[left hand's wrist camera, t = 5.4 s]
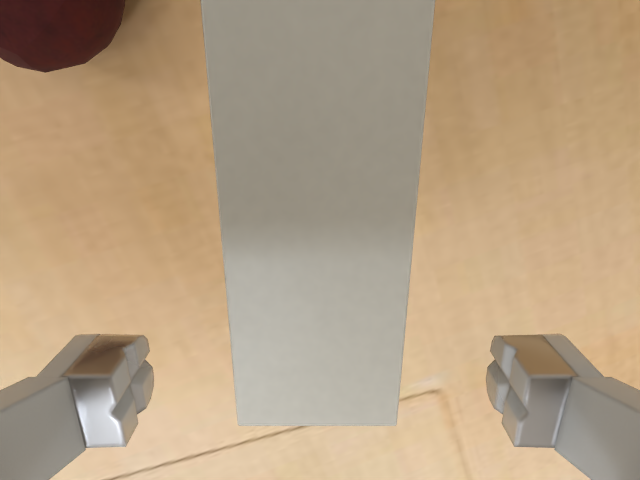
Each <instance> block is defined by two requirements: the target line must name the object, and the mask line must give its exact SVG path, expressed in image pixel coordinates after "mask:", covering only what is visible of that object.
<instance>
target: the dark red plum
mask: <svg viewBox="0 0 640 480" xmlns="http://www.w3.org/2000/svg"><path fill="white" fill-rule="evenodd" d="M124 6H125V0H0V58H2V59H3V60H5V61H7V62H9V63H11V64H13V65H15V66H17V67H22V68H26V69H31V70H36V71H41V72H50V71H54V70H59V69H63V68H67V67H72V66H76V65H80V64H85V63H86V62H88V61H89V60H90V59H92V58H93V57H94V56H96V55H97V54H98V53H99V52H101V51H102V50H103V49H105V48H106V47H107V46H108V45H109V44H110V43H111V41H112V39H113V37H114V35H115V34H116V32H117V30H118V28H119V26H120V24H121V20H122V15H123V11H124Z"/></svg>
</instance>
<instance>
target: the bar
mask: <svg viewBox="0 0 640 480" xmlns="http://www.w3.org/2000/svg"><path fill="white" fill-rule="evenodd" d="M434 8H435V0H201V11H202V22H203V33H204V45H205V56H206V68H207V79H208V90H209V102H210V113H211V125H212V136H213V148H214V159H215V170H216V182H217V193H218V205H219V216H220V227H221V239H222V250H223V262H224V273H225V284H226V296H227V307H228V319H229V330H230V341H231V353H232V364H233V376H234V387H235V399H236V410H237V421H238V425H239V426H396V424H397V416H398V405H399V394H400V383H401V372H402V361H403V350H404V338H405V327H406V316H407V305H408V294H409V283H410V272H411V261H412V250H413V239H414V228H415V217H416V206H417V195H418V184H419V173H420V162H421V151H422V140H423V129H424V118H425V107H426V96H427V85H428V74H429V63H430V52H431V41H432V30H433V19H434Z"/></svg>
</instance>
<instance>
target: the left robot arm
mask: <svg viewBox="0 0 640 480" xmlns="http://www.w3.org/2000/svg"><path fill="white" fill-rule="evenodd" d="M149 352H150V349H149V344H148V340H147V338H146V337H145V336H144V335H114V334H102V335H100V334H80V335H76V336H75V337H74V338H73V339H72V340H71V341H70V342H69V343H68V344H67V345H66V346H65V347H64V348H63V349H62V350H61V351H60V352H59V353H58V354H57V355H56V356H55V357H54V358H53V360H52V361H51V362H50V363H49V364H48V365H47V366H46V367H45V368H44V369H43V370H42V371H41V372H40V373H39V374H38V375H37V376H36V377H28V378H26V379H23V380H21V381H19V382H17V383H15V384H13V385H11V386H9V387H6V388H4V389H2V390H0V480H49V479H50V478H52V477H53V476H54V475H55V474H56V473H58V472H59V471H60V470H61V469H63V468H64V467H65V466H66V465H68V464H69V463H70V462H71V461H73V460H74V459H75V458H76V457H77V456H79V455H80V454H81V453H82V452H84V451H85V450H86V449H85V448H95V447H126V445H127V443H128V442H129V440H130V438H131V436H132V434H133V432H134V430H135V428H136V427H137V425H138V418H137V414H138V413H140V412H141V411H143V410H144V409H146V407H147V405H148V403H149V401H150V399H151V396H152V391H153V387H154V374H153V367H152V366H151V365H150V364H149V363H148V362H147V361H146V360H145V358H146V357H147V355H148V353H149ZM490 352H491V353H492V355H493V357H494V358H495V360H494V361H493V362H492V363H491V364H490V365H489V366H488V367H487V375H486V385H487V393H488V396H489V399H490V401H491V403H492V405H493V407H494V409H496V410H497V411H499V412H500V413H502V414H503V418H502V425H503V427H504V428H505V430H506V432H507V434H508V436H509V438H510V440H511V441H512V443H513V445H514V447H545V448H555V449H554V450H555V451H557V452H558V453H559V454H560V455H562V456H563V457H564V458H565V459H566V460H568V461H569V462H570V463H571V464H573V465H574V466H575V467H576V468H578V469H579V470H580V471H581V472H582V473H584V474H585V475H586V476H587V477H589V478H590V479H591V480H640V390H638V389H636V388H633V387H631V386H629V385H627V384H625V383H623V382H621V381H619V380H617V379H614V378H612V377H604V376H603V375H602V374H601V373H600V372H599V371H598V370H597V369H596V368H595V367H594V366H593V365H592V364H591V363H590V362H589V361H588V359H587V358H586V357H585V356H584V355H583V354H582V353H581V352H580V351H579V350H578V349H577V348H576V347H575V346H574V345H573V344H572V343H571V342H570V341H569V340H568V339H567V338H566V336H564V335H561V334H541V335H508V336H494V338H493V340H492V344H491V349H490Z"/></svg>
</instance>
